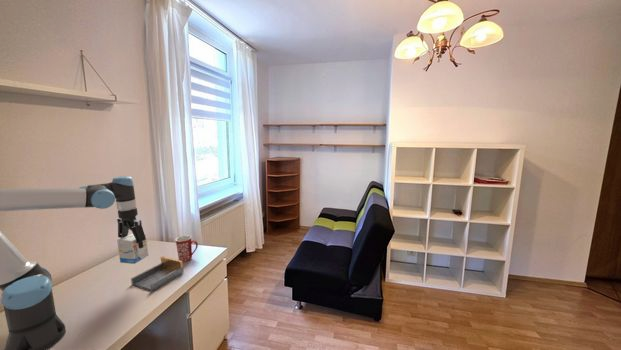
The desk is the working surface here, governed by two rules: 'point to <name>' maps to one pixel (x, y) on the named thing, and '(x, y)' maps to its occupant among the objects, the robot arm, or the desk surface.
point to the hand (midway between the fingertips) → (134, 252)
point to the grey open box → (159, 274)
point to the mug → (185, 247)
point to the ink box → (130, 250)
